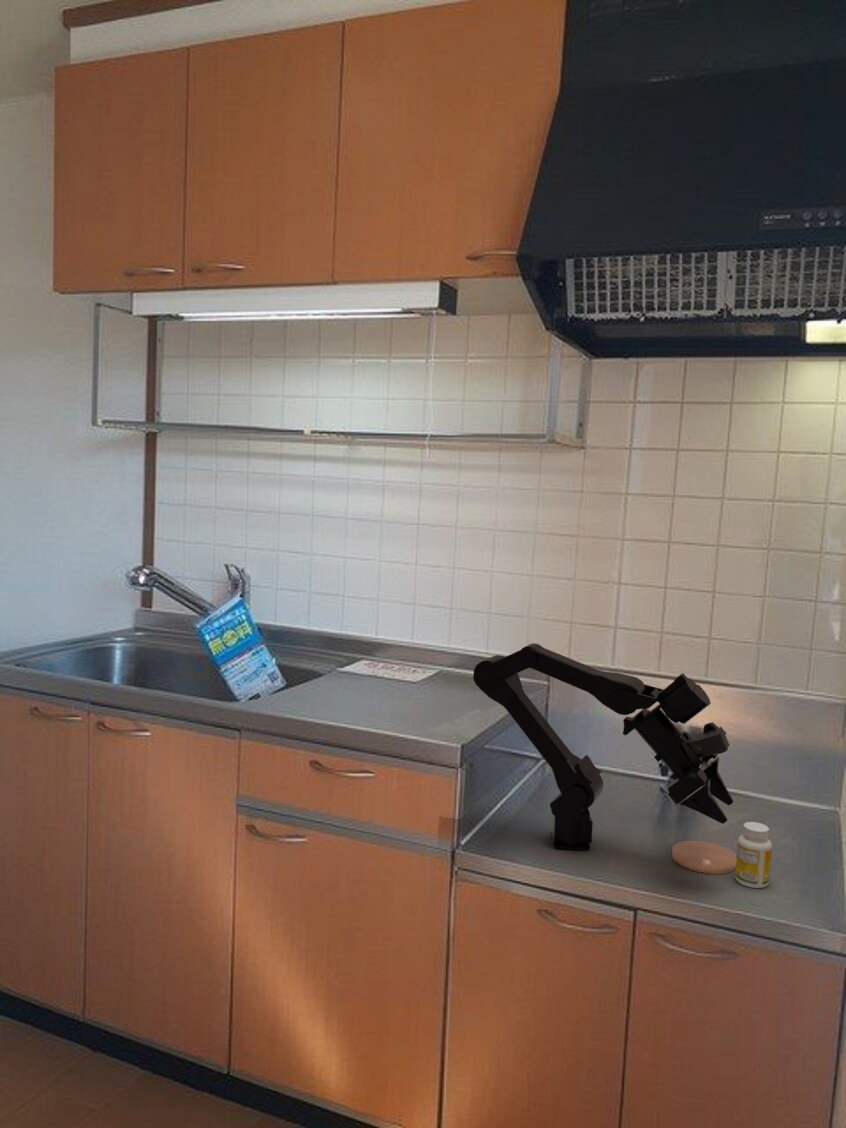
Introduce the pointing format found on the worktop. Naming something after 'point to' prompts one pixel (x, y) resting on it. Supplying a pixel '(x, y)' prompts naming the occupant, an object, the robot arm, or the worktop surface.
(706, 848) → the saucer
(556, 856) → the worktop surface
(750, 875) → the supplement bottle
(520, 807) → the worktop surface
